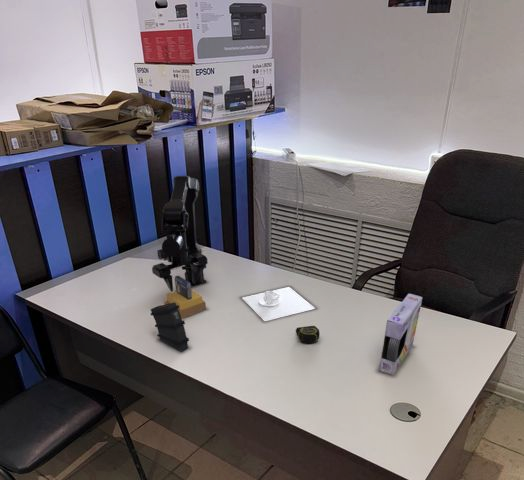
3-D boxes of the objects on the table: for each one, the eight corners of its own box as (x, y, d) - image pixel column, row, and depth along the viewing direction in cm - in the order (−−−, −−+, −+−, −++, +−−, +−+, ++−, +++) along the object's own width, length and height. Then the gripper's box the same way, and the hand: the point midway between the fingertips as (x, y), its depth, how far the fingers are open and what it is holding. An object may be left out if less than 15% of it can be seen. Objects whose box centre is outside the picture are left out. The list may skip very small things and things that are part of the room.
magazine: (186, 351, 150) (167, 306, 146) (164, 353, 160) (145, 310, 156) (195, 346, 152) (177, 301, 149) (173, 348, 162) (155, 306, 159)
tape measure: (315, 333, 161) (316, 323, 159) (321, 344, 155) (322, 333, 153) (295, 335, 160) (295, 325, 158) (300, 346, 154) (300, 336, 152)
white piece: (276, 295, 185) (276, 285, 182) (286, 304, 178) (286, 293, 176) (254, 300, 181) (254, 290, 179) (264, 309, 175) (263, 299, 173)
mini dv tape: (176, 292, 176) (174, 276, 173) (179, 290, 177) (178, 275, 174) (188, 300, 171) (186, 284, 167) (192, 298, 171) (190, 282, 168)
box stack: (191, 299, 183) (189, 286, 180) (206, 309, 176) (204, 295, 173) (165, 309, 177) (163, 295, 174) (179, 319, 171) (177, 305, 168)
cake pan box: (393, 378, 139) (401, 324, 130) (376, 373, 142) (383, 319, 132) (414, 347, 153) (423, 295, 143) (398, 342, 155) (406, 291, 146)
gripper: (189, 232, 174) (193, 273, 182) (141, 245, 164) (147, 287, 172) (206, 240, 166) (210, 282, 175) (157, 254, 157) (163, 298, 165)
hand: (183, 287), depth 172 cm, fingers open, 9 cm apart
